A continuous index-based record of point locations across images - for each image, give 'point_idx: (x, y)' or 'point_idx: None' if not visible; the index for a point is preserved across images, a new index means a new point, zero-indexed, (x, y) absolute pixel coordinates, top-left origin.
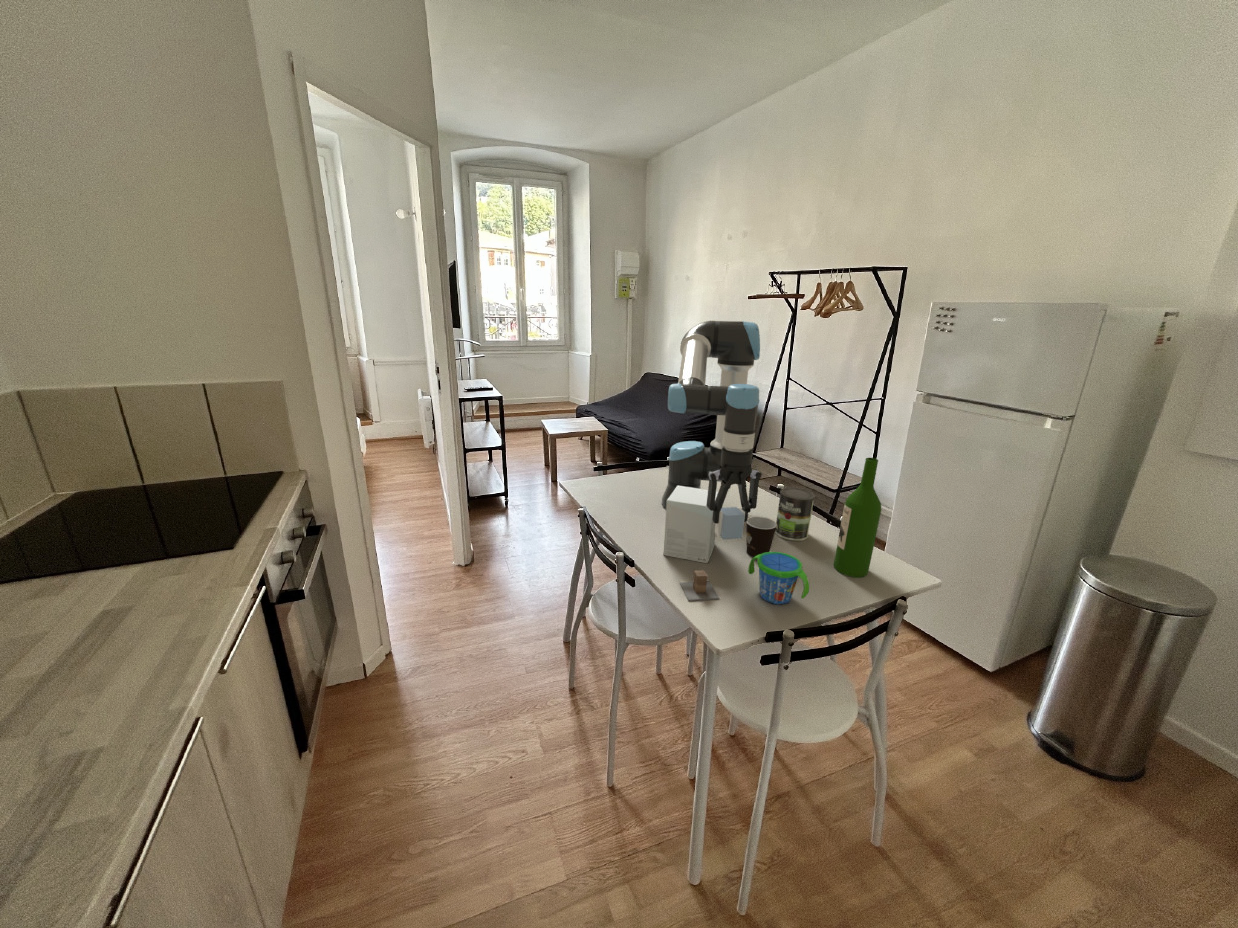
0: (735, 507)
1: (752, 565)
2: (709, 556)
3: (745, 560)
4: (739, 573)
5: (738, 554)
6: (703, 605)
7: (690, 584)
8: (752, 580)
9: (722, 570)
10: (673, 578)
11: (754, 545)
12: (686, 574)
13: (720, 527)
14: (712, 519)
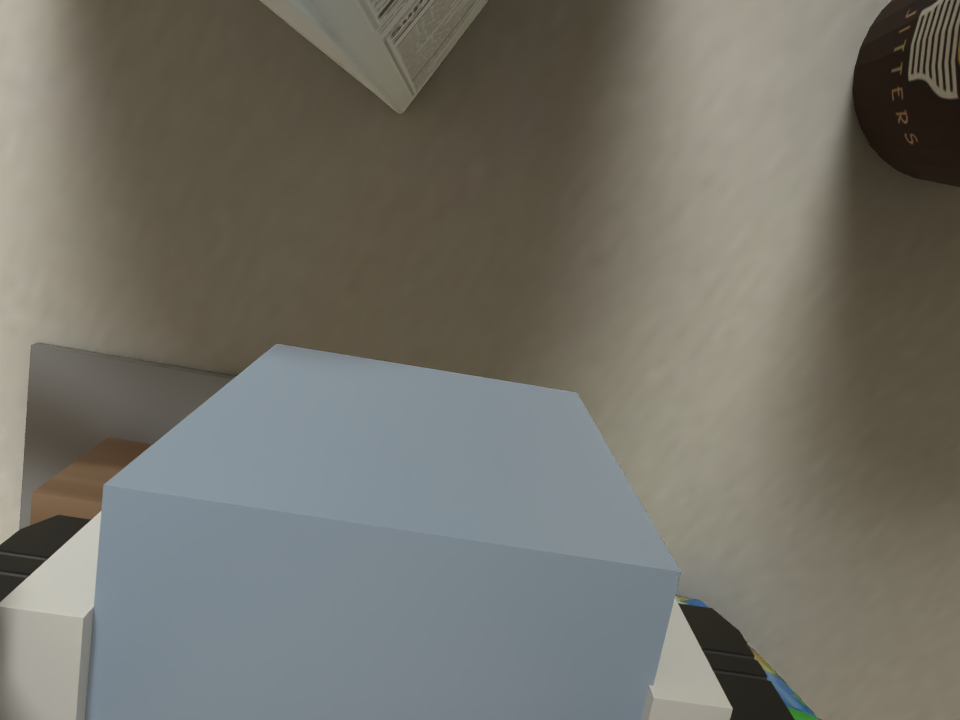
0: (627, 591)
1: None
2: (452, 44)
3: (762, 163)
4: (583, 340)
5: (771, 41)
6: None
7: (105, 396)
8: (620, 457)
9: (472, 258)
10: (12, 256)
11: (927, 137)
12: (143, 229)
13: None
14: (21, 529)
